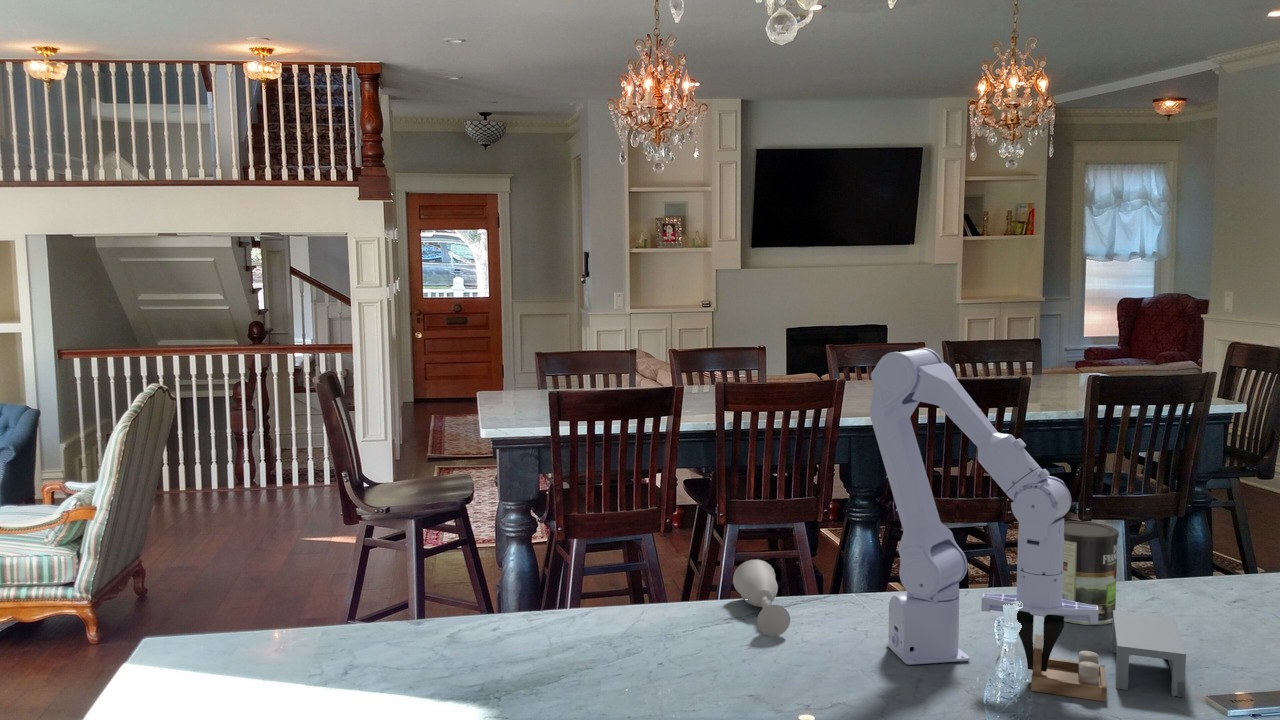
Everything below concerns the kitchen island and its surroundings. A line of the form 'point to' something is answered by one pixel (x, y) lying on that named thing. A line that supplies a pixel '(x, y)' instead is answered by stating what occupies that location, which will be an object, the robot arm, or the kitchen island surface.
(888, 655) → the kitchen island surface
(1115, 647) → the shelf
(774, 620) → the chalice
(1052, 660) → the tray
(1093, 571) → the coffee can
